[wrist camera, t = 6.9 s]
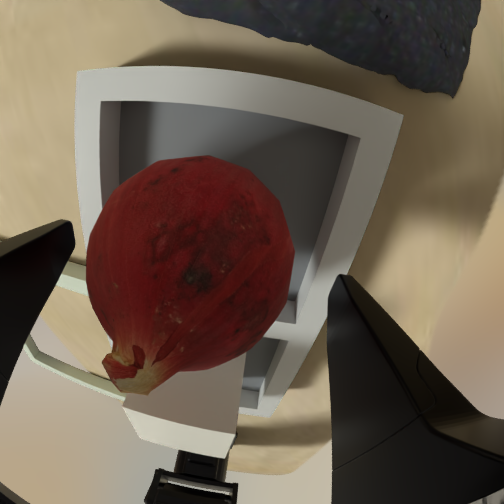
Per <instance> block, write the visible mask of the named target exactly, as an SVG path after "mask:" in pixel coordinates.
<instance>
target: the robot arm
mask: <svg viewBox="0 0 504 504" xmlns="http://www.w3.org/2000/svg"><path fill="white" fill-rule="evenodd" d="M74 248H75V236H74V231H73V225H72V223H71V222H70V221H68V220H63V219H61V220H57V221H55V222H52V223H49V224H46V225H43V226H40V227H38V228H35V229H32V230H30V231H27V232H24V233H22V234H19V235H16V236H14V237H11V238H9V239H6V240H4V241H2V242H0V405H1V402H2V399H3V397H4V394H5V391H6V388H7V385H8V381H9V380H10V377H11V375H12V372H13V370H14V367H15V364H16V362H17V360H18V357H19V356H20V353H21V351H22V349H23V347H24V344H25V342H26V340H27V338H28V336H29V334H30V332H31V330H32V328H33V326H34V324H35V322H36V320H37V318H38V316H39V314H40V312H41V311H42V309H43V307H44V305H45V303H46V301H47V300H48V298H49V296H50V294H51V293H52V291H53V289H54V287H55V286H56V284H57V282H58V280H59V278H60V276H61V274H62V272H63V270H64V268H65V266H66V264H67V262H68V260H69V258H70V256H71V254H72V252H73V250H74ZM327 355H328V368H329V383H330V401H331V425H332V470H333V471H332V502H331V504H504V420H503V419H497V418H493V417H489V416H487V415H485V414H483V413H481V412H480V411H478V410H477V409H476V408H475V407H474V406H473V405H472V404H471V403H470V402H469V401H468V400H467V399H466V398H465V397H464V396H463V395H462V393H461V392H460V391H459V390H458V389H457V388H456V387H455V386H454V385H453V384H452V383H451V382H450V381H449V380H448V379H447V378H446V377H445V376H444V375H443V374H442V373H441V372H440V371H439V370H438V369H437V368H436V366H434V364H433V363H432V362H431V361H430V360H429V359H428V357H427V356H426V355H425V354H424V353H423V352H422V351H421V350H419V347H418V346H417V345H416V344H415V343H414V342H413V341H412V339H411V338H410V337H409V336H408V335H407V334H406V333H405V332H404V331H403V329H402V328H401V327H400V326H399V325H398V324H397V323H396V322H395V321H394V320H393V319H392V318H391V316H390V315H389V314H388V313H387V312H386V311H385V310H384V309H383V308H382V307H381V306H380V305H379V304H378V303H377V302H376V301H375V300H374V298H373V297H372V296H371V295H370V294H369V293H368V292H367V291H366V290H365V289H364V288H363V287H362V286H361V285H360V284H359V283H358V282H357V281H356V280H355V279H354V278H353V277H352V276H350V275H345V274H339V275H338V276H337V277H336V279H335V281H334V284H333V286H332V288H331V290H330V293H329V296H328V306H327ZM236 438H237V432H236V434H235V437H234V439H233V441H232V444H231V446H230V448H229V450H228V453H227V455H226V457H225V459H224V458H218V457H212V456H207V455H202V454H197V453H192V452H188V451H183V450H178V455H177V459H176V464H175V468H174V472H169V471H166V470H164V469H161V468H159V469H156V470H155V474H154V478H153V481H152V483H151V486H150V488H149V490H148V492H147V495H146V496H145V499H144V502H145V504H236V503H237V492H238V483H226V482H225V478H226V471H227V465H228V458H229V451H230V449H232V446H233V444H234V442H235V440H236ZM168 480H169V481H173V482H177V483H181V484H186V485H191V486H195V487H201V488H206V489H213V490H218V491H226V492H230V493H229V495H225V494H223V493H216V492H210V491H204V490H199V489H194V488H188V487H184V486H180V485H175V484H171V483H168ZM0 504H30V503H28V502H27V501H25V500H24V499H22V498H21V497H19V496H18V495H17V494H15V493H14V492H13V491H11V490H10V489H9V488H7V487H6V486H5V485H3V484H2V483H1V482H0Z"/></svg>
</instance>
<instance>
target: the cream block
mask: <svg viewBox="0 0 504 504" xmlns="http://www.w3.org/2000/svg"><path fill="white" fill-rule="evenodd" d="M245 359H246V352H245V353H244V354H242V355H240V356H239V357H237V358H234V359H232V360H230V361H228V362H226V363H224V364H221V365H219V366H216V367H214V368H211V369H208V370H201V371H188V372H177V373H176V374H175V375H173V376H172V377H171V378H169V379H168V380H166V381H165V382H164V383H162V384H161V385H159V386H158V387H157V388H155V389H154V390H152V391H151V392H150V393H149V395H148V396H146V395H140V394H134V393H127V395H126V398H125V400H124V403H123V406H122V407H123V409H124V411H125V413H126V415H127V417H128V418H129V420H130V422H131V424H132V426H133V427H134V429H135V431H136V433H137V434H138V436H139V438H140V439H143V440H146V441H150V442H153V443H156V444H160V445H163V446H167V447H171V448H175V449H179V450H183V451H188V452H192V453H197V454H202V455H207V456H212V457H218V458H224V459H225V457H226V455H227V453H228V450H229V448H230V446H231V444H232V441H233V439H234V437H235V434H236V427H237V419H238V412H239V404H240V397H241V389H242V382H243V374H244V366H245Z"/></svg>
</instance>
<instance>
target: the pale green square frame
mask: <svg viewBox="0 0 504 504" xmlns="http://www.w3.org/2000/svg"><path fill="white" fill-rule="evenodd" d="M0 242H2V241H1V240H0ZM56 286H59V287H62V288H65V289H68V290H71V291H74V292H77V293H80V294H84V295H87V296H89V295H88V290H87V285H86V266H83V265H80V264H76V263H73V262H69V261H68V262H67V264H66V266H65V268H64V270H63V272H62V274H61V276H60V278H59V280H58V282H57V284H56ZM23 348H24V350H25V352H26V353H27V355H28V356H29V358H30V359H31V361H33V362H35V363H37V364H38V365H40V366H42V367H44V368H46V369H48V370H50V371H52V372H54V373H56V374H58V375H61V376H63V377H65V378H67V379H69V380H71V381H74V382H76V383H78V384H80V385H83V386H85V387H88V388H90V389H92V390H95V391H97V392H100V393H103V394H105V395H108V396H111V397H113V398H116V399H119V400H122V401H124V400H125V398H126V395H127V393H121V392H120V391H119V390H118V389H117V388H116V387H115V385H114V384H113V383H112V382H111V381H109V380H106V379H103V378H100V377H98V376H95V375H93V374H90V373H88V372H85V371H83V370H80V369H78V368H75V367H73V366H71V365H68V364H66V363H64V362H62V361H60V360H57V359H55V358H53V357H51V356H49V355H47V354H44V353H43V352H40V351H39V349H38V347H37V346H36V344H35V342H34V341H33V339H32V337H31V335H30V334H29V336H28V338H27V340H26V342H25V344H24V347H23Z"/></svg>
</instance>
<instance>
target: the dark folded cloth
mask: <svg viewBox="0 0 504 504" xmlns="http://www.w3.org/2000/svg"><path fill="white" fill-rule="evenodd" d="M160 1H162V2H163V3H165V4H167V5H168V6H170V7H172V8H175V9H177V10H178V11H180V12H181V13H183V14H185V15H189V16H193V17H198V18H206V19H215V20H218V21H221V22H225V23H229V24H234V25H239V26H242V27H246V28H249V29H251V30H254V31H256V32H258V33H260V34H261V35H263V36H265V37H268V38H270V37H275V38H278V39H280V40H283V41H287V42H296V43H301V44H304V45H306V46H308V45H310V44H311V45H312V46H314V47H316V48H318V49H321V50H323V51H324V52H326V53H328V54H330V55H332V56H334V57H336V58H338V59H340V60H343V61H345V62H347V63H349V64H352V65H355V66H359V67H362V68H364V69H367V70H370V71H374V72H376V73H378V74H383V75H387V74H391V75H395V76H396V78H397V80H398V81H399V82H400V83H401V84H403V85H405V86H406V87H408V88H410V89H419V90H421V91H423V92H425V93H428V92H443V93H447V94H450V95H451V97H452V98H453V97H454V96H455V94H456V92H457V90H458V87H459V85H460V83H461V81H462V77H463V72H464V70H465V69H466V67H467V64H468V60H469V55H470V45H471V35H472V31H473V29H474V28H475V27H476V25H477V17H478V15H479V13H480V9H481V3H480V0H160Z"/></svg>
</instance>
